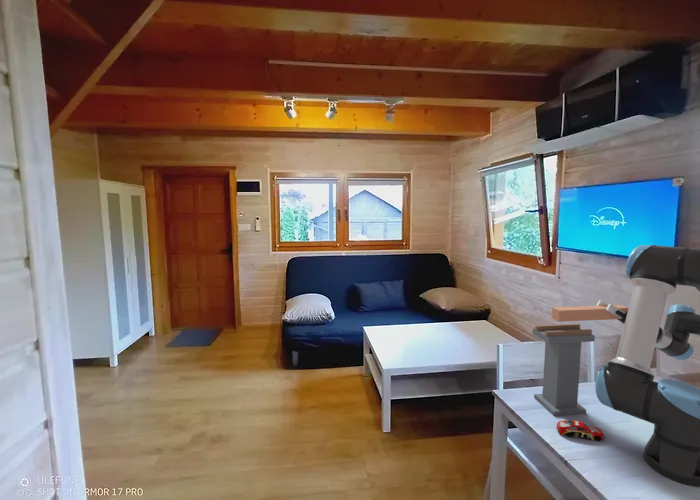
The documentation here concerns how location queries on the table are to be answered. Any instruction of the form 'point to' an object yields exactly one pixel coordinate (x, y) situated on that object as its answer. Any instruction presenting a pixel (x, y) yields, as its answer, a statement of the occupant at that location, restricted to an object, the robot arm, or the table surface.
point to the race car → (579, 430)
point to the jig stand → (562, 367)
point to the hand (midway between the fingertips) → (603, 305)
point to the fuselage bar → (584, 313)
